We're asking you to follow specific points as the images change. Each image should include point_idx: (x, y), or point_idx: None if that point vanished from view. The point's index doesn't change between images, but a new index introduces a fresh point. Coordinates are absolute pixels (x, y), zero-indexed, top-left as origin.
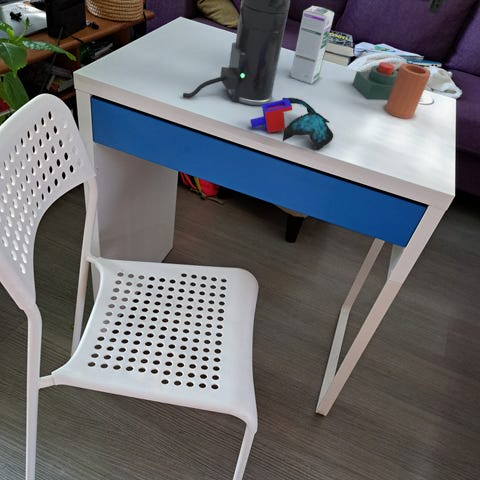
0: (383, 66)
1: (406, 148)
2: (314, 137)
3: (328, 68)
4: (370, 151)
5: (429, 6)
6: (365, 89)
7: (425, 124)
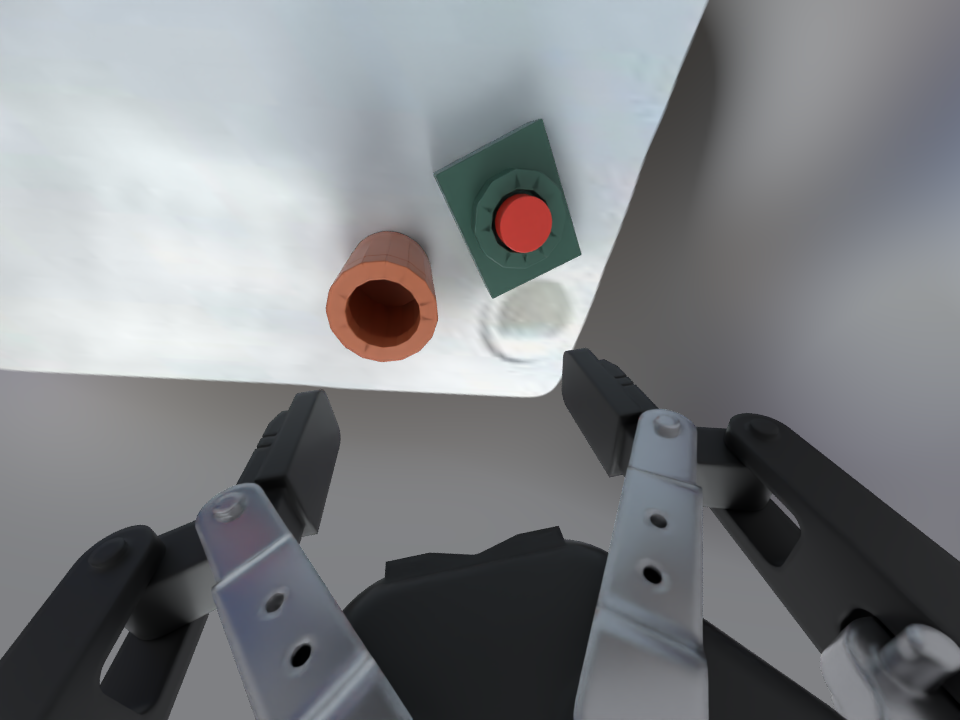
0: (505, 211)
1: (147, 279)
2: None
3: (646, 17)
4: (3, 162)
5: (305, 401)
6: (457, 161)
7: None
